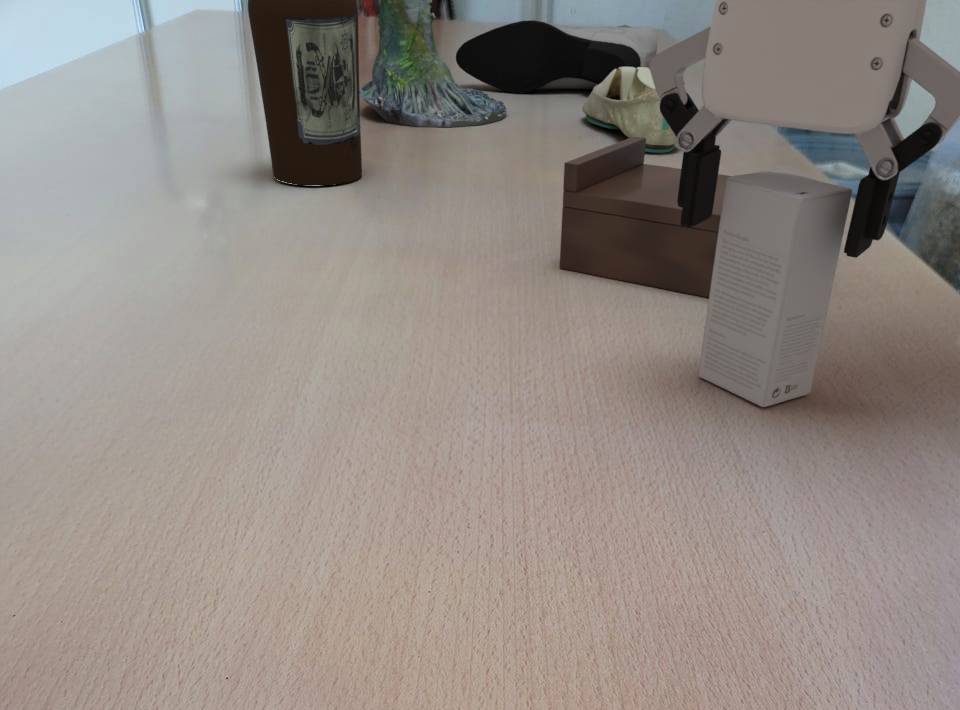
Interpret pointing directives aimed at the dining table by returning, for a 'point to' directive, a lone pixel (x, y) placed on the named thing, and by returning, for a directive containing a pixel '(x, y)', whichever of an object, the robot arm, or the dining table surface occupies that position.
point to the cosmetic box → (772, 284)
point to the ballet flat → (630, 108)
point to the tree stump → (420, 74)
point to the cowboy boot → (553, 55)
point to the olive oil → (309, 87)
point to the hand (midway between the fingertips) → (773, 236)
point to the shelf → (634, 222)
